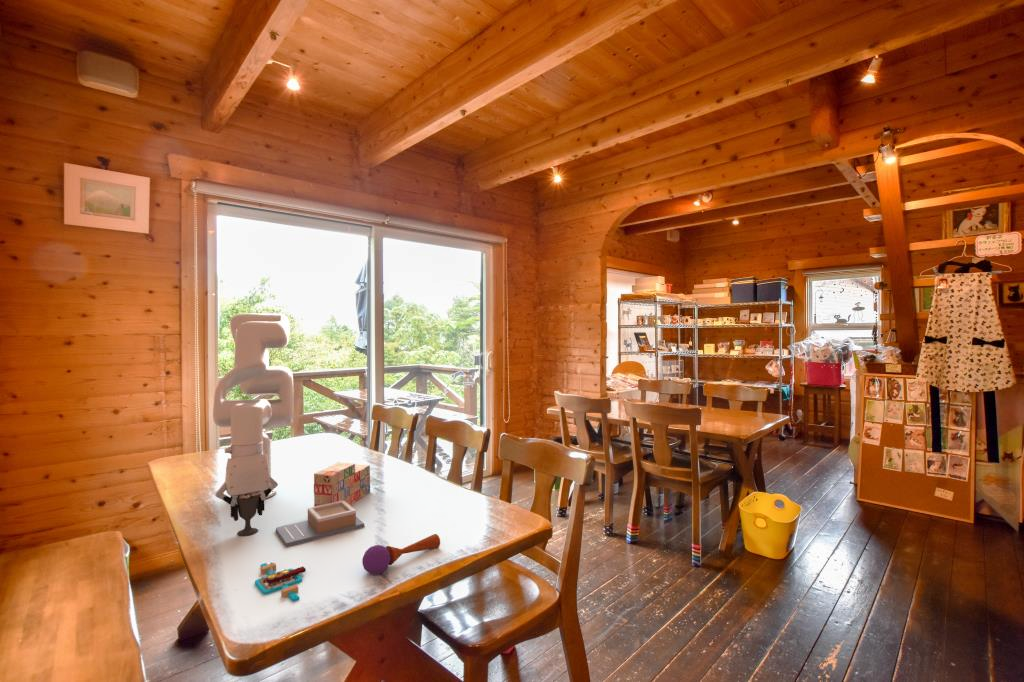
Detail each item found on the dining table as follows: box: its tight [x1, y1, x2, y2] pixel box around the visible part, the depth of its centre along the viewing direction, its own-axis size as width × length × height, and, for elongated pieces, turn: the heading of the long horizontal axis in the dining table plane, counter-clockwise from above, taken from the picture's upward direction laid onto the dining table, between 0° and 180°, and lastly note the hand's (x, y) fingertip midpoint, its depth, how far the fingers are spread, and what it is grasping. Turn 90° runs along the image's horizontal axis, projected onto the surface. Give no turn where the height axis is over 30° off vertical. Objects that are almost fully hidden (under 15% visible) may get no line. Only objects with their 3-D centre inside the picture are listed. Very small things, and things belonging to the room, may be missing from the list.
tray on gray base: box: [275, 500, 365, 548], centre depth 130 cm, size 12×20×5 cm, turn 128°
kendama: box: [361, 533, 441, 575], centre depth 113 cm, size 6×6×20 cm
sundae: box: [236, 492, 261, 537], centre depth 128 cm, size 7×7×15 cm
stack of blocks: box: [313, 462, 371, 507], centre depth 151 cm, size 21×6×12 cm, turn 166°
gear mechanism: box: [254, 561, 307, 603], centre depth 103 cm, size 20×5×9 cm
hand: (247, 515), depth 128 cm, fingers open, 5 cm apart
